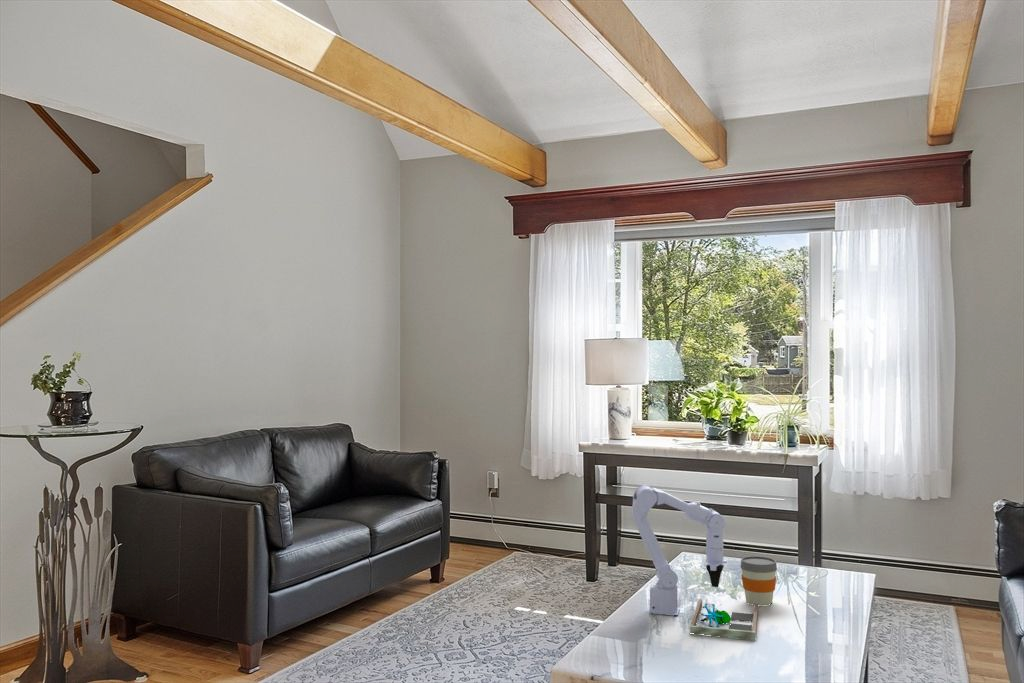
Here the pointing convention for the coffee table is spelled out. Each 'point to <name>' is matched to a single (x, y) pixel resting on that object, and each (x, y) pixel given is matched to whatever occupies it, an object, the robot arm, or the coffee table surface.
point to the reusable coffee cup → (758, 579)
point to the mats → (741, 618)
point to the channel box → (721, 631)
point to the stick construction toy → (716, 616)
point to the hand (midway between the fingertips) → (715, 586)
